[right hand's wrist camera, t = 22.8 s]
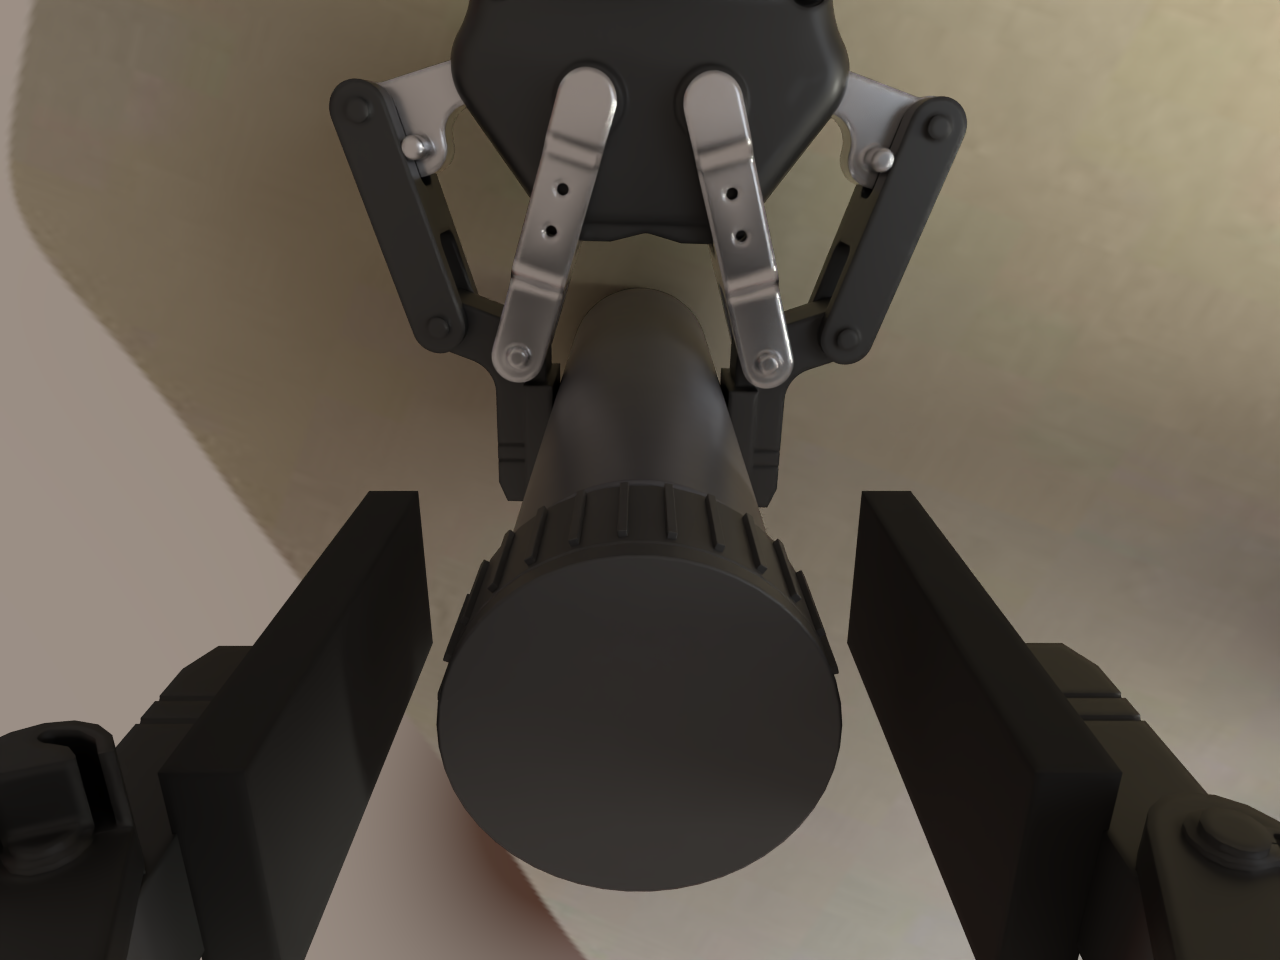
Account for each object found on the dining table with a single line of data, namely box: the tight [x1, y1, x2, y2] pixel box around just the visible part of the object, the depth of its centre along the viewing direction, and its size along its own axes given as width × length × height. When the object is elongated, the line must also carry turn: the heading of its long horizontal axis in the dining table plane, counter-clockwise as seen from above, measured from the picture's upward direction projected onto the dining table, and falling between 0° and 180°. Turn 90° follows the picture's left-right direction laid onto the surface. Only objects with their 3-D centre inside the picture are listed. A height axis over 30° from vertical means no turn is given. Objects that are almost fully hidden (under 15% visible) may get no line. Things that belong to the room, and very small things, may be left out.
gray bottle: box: [513, 288, 766, 533], centre depth 20 cm, size 4×4×18 cm
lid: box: [437, 482, 842, 891], centre depth 11 cm, size 5×5×2 cm
